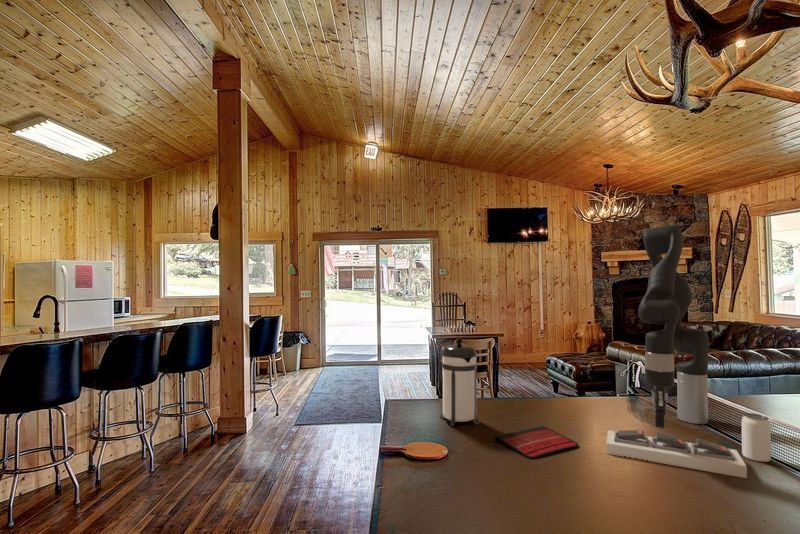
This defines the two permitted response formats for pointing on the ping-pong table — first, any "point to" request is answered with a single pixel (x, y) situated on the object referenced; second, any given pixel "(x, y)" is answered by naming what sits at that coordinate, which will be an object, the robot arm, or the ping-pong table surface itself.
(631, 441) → the switch panel
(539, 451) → the binder
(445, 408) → the coffee press
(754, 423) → the can
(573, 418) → the ping-pong table surface
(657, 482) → the ping-pong table surface
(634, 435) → the rocker
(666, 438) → the rocker
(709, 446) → the rocker
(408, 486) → the ping-pong table surface
